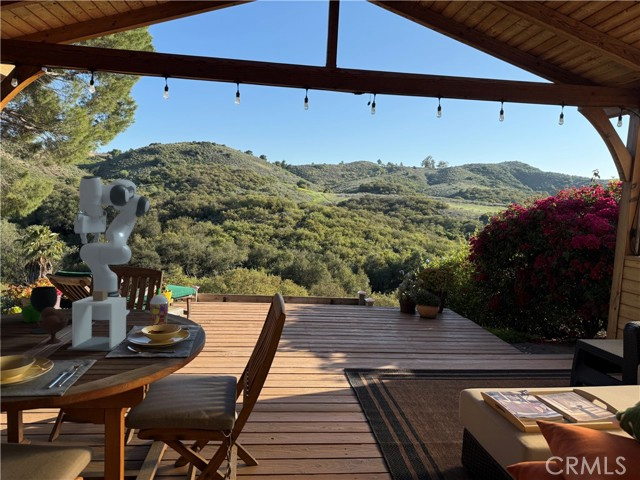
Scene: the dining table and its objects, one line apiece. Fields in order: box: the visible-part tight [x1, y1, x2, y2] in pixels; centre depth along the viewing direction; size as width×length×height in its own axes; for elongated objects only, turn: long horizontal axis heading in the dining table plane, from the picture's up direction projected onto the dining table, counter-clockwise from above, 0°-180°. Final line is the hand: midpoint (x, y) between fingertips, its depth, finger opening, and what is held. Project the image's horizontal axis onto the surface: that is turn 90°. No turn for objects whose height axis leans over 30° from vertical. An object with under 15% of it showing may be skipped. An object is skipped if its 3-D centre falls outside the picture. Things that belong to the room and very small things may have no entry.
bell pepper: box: [21, 301, 42, 324], centre depth 209 cm, size 8×8×10 cm
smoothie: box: [149, 288, 170, 327], centre depth 199 cm, size 8×8×20 cm
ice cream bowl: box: [36, 306, 69, 345], centre depth 177 cm, size 11×11×15 cm
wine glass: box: [29, 285, 58, 335], centre depth 192 cm, size 10×10×20 cm
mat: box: [66, 336, 121, 352], centre depth 176 cm, size 16×18×1 cm
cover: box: [71, 290, 127, 348], centre depth 176 cm, size 13×16×22 cm
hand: (90, 243), depth 189 cm, fingers open, 8 cm apart
